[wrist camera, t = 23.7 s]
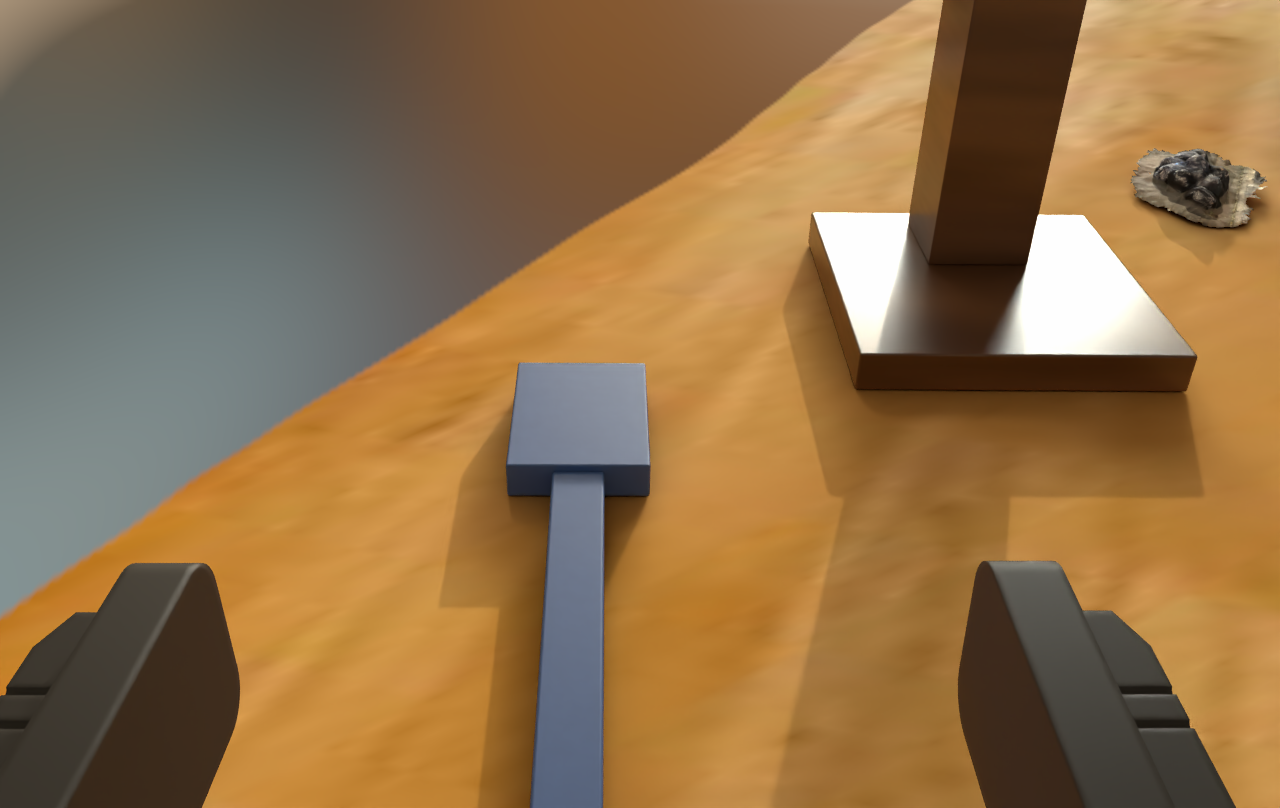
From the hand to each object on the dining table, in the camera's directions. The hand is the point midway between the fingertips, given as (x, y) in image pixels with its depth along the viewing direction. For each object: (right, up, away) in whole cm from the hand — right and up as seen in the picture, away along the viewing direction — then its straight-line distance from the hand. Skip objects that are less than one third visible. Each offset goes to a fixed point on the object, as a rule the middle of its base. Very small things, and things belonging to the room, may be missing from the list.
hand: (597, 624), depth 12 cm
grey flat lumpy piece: (+28, +12, +45) cm, 54 cm away
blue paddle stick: (-1, -3, +20) cm, 21 cm away
